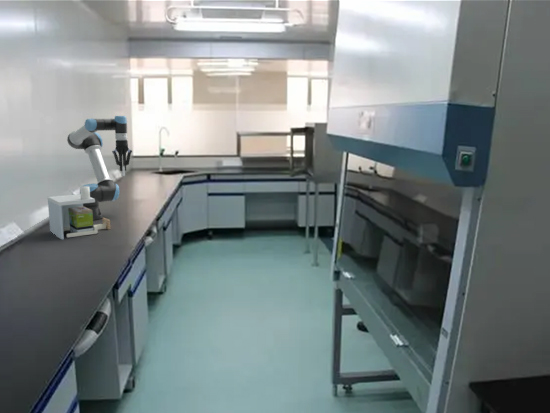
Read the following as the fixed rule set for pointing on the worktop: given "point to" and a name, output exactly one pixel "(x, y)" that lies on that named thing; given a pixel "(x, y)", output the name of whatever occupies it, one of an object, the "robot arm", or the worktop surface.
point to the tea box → (80, 219)
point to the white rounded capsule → (85, 192)
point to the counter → (63, 211)
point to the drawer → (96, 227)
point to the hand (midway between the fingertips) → (123, 175)
